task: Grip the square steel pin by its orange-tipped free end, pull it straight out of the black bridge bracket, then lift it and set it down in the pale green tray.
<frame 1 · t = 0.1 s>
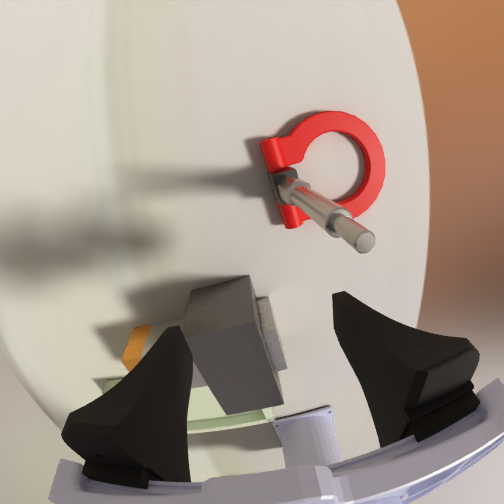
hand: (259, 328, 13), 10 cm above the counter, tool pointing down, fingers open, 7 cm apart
bracket: (236, 326, 25), on the counter
pin: (205, 333, 25), on the counter
tray: (189, 399, 28), on the counter
tow hook: (327, 167, 20), on the counter
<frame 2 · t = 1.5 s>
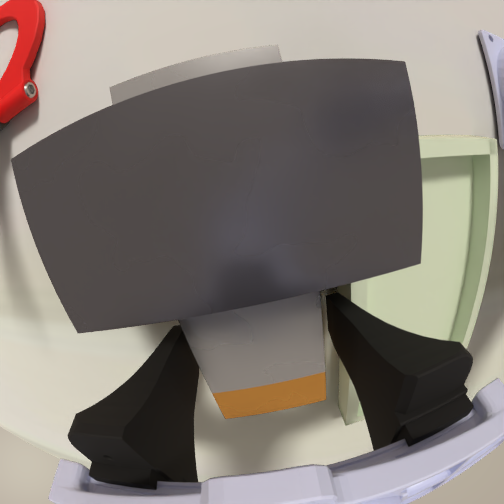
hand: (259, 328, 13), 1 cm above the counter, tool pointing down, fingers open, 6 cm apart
bracket: (223, 169, 11), on the counter
pin: (239, 236, 12), on the counter
tray: (412, 293, 14), on the counter
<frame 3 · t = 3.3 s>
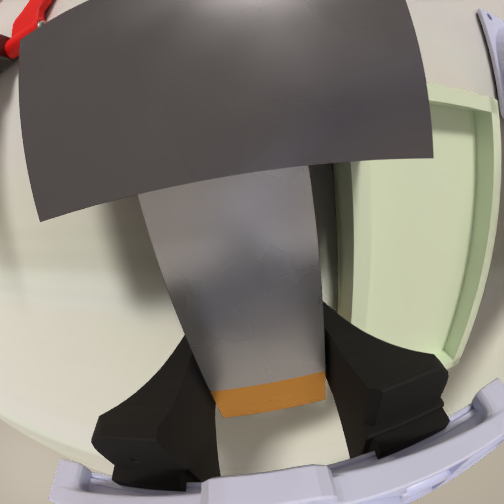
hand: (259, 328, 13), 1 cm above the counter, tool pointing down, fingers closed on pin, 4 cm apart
bracket: (222, 98, 10), on the counter
pin: (239, 232, 12), on the counter, touching gripper
tray: (416, 255, 13), on the counter
tow hook: (13, 14, 6), on the counter
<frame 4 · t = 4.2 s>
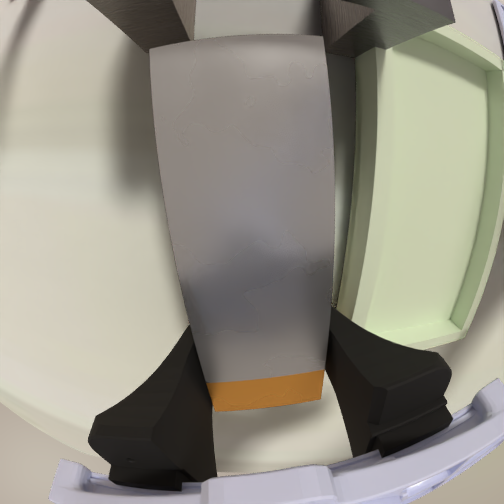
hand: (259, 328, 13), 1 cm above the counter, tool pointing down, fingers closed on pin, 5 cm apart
bracket: (259, 0, 8), on the counter
pin: (248, 224, 12), on the counter, touching gripper
tray: (431, 192, 12), on the counter
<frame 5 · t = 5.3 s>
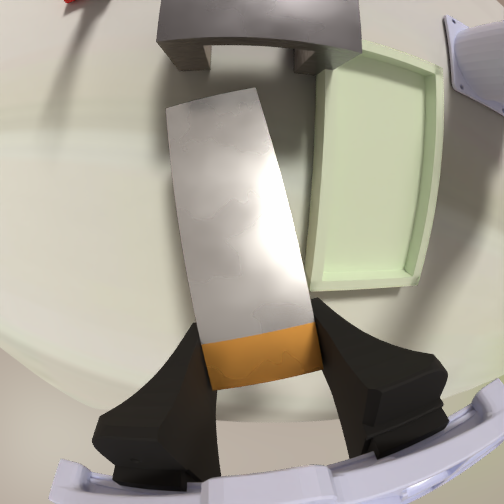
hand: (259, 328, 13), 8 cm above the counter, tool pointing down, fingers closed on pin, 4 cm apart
bracket: (253, 37, 14), on the counter
pin: (242, 240, 16), point 4 cm above the counter, tilted 31°, touching gripper
tray: (375, 166, 18), on the counter
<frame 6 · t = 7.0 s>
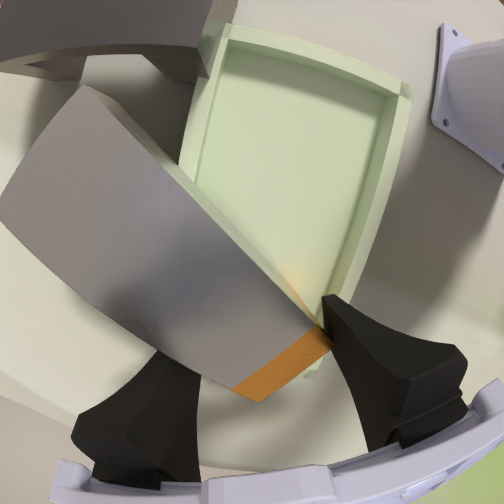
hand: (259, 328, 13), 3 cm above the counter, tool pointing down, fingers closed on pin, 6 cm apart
bracket: (135, 36, 10), on the counter
pin: (180, 242, 12), point 2 cm above the counter, tilted 13°, touching gripper, tray
tray: (272, 221, 14), on the counter
when the fingers open (3 cm above the counter, at t = 7.6 s): pin stays where it is, resting on tray.
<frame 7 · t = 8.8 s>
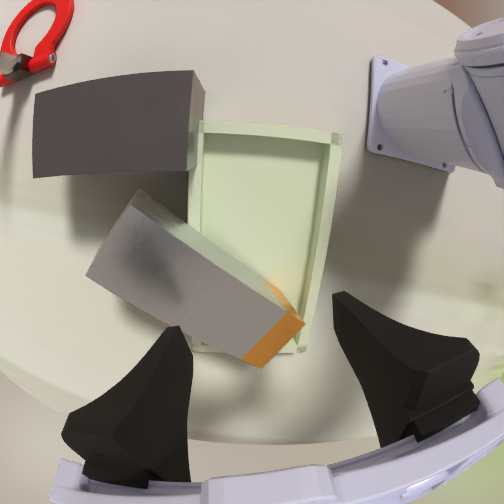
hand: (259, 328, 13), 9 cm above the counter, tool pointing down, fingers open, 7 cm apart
bracket: (137, 127, 17), on the counter
pin: (197, 270, 19), point 2 cm above the counter, tilted 13°, touching tray
tray: (256, 246, 21), on the counter
tow hook: (37, 34, 12), on the counter
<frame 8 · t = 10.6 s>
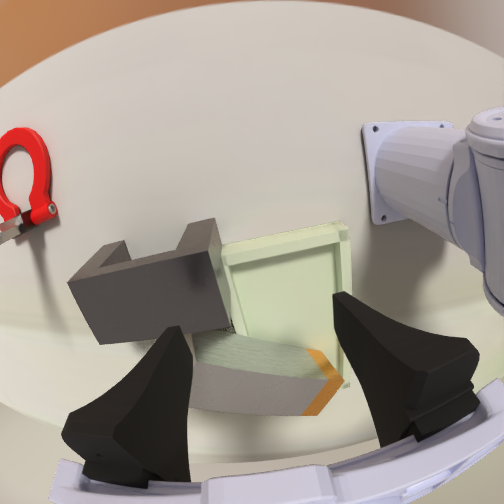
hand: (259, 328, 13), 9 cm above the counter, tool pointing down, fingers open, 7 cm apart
bracket: (164, 261, 21), on the counter
pin: (252, 359, 23), point 2 cm above the counter, tilted 13°, touching tray
tray: (293, 325, 24), on the counter
tow hook: (22, 178, 17), on the counter
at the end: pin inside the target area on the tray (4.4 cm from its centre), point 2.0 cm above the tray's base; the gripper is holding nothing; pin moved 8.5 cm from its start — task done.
